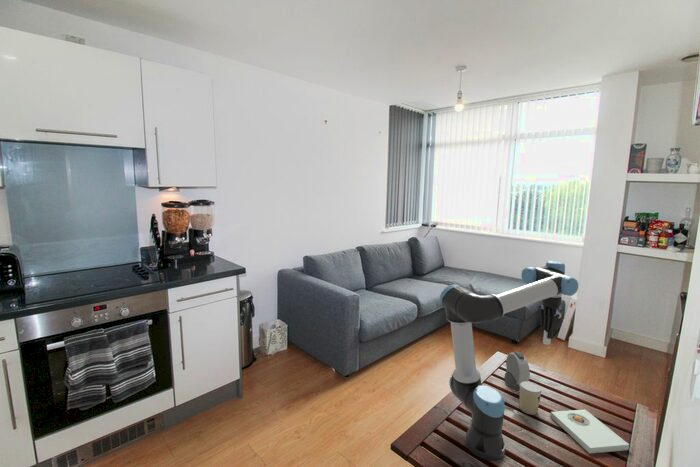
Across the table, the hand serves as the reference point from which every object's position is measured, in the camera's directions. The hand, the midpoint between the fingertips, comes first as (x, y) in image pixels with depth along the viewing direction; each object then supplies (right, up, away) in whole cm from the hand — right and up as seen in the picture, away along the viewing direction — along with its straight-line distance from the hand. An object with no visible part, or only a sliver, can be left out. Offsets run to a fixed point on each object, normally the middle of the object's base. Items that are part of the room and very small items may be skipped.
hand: (546, 343), depth 156 cm
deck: (+13, -36, -8) cm, 39 cm away
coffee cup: (-5, -34, +6) cm, 35 cm away
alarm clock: (-1, -31, +27) cm, 41 cm away
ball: (+12, -34, -3) cm, 36 cm away
